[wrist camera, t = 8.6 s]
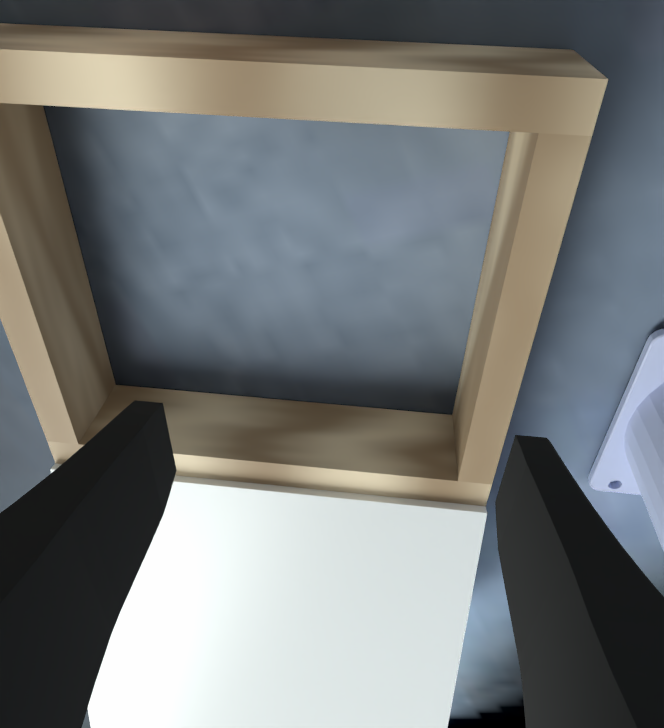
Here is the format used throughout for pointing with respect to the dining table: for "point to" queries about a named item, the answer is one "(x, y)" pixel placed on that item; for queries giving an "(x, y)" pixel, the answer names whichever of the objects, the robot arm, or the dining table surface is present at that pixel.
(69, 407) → the cold frame
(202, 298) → the dining table surface
